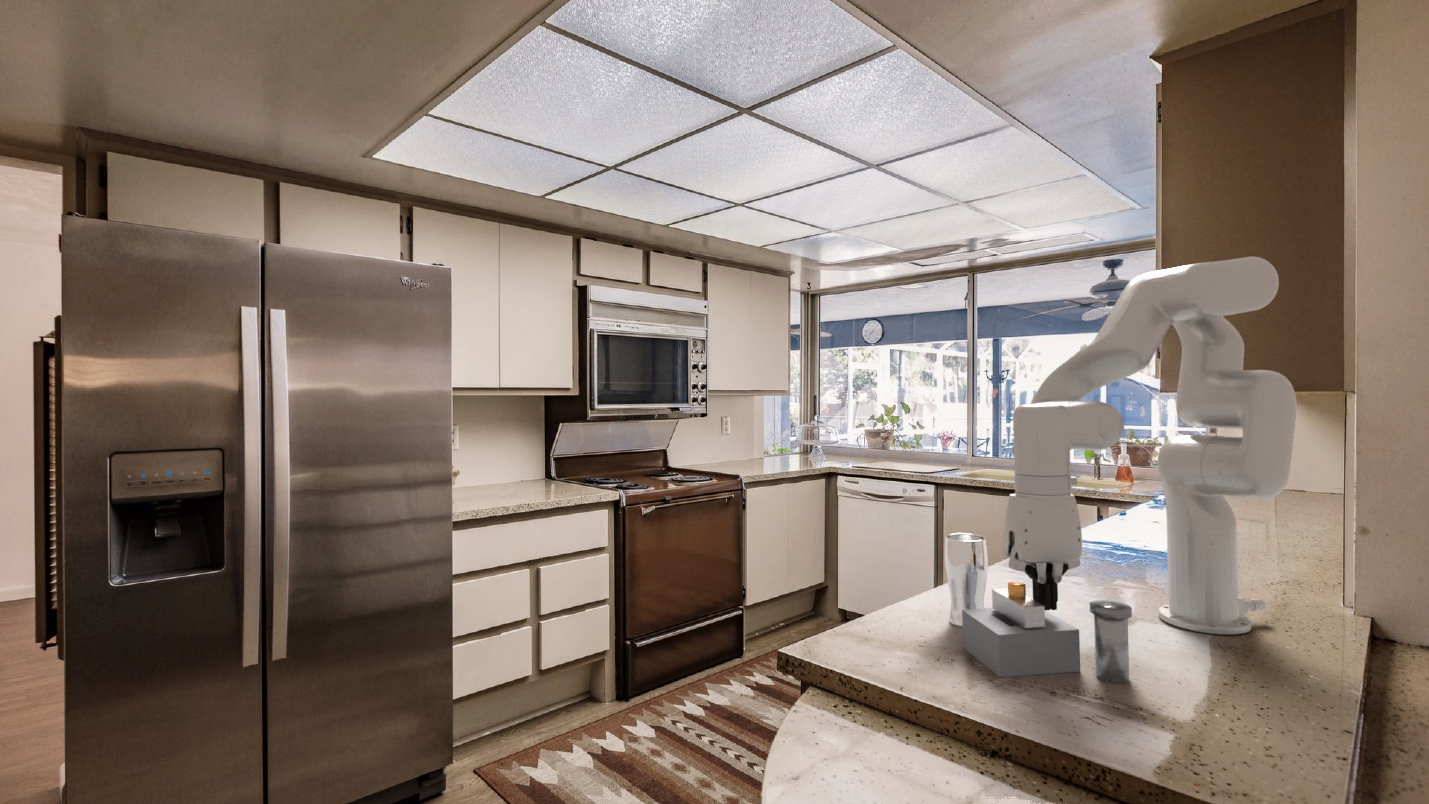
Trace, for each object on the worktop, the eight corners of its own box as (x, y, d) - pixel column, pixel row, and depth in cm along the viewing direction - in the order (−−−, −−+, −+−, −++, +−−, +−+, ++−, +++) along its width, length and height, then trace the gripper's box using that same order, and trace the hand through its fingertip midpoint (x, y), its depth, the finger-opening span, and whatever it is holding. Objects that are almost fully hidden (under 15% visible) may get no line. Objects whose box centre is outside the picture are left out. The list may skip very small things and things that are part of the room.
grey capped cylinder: (1116, 668, 94) (1114, 599, 93) (1142, 684, 89) (1140, 610, 88) (1083, 671, 93) (1081, 601, 93) (1107, 686, 88) (1105, 612, 88)
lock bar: (1010, 607, 103) (1009, 575, 103) (1044, 627, 94) (1043, 592, 94) (992, 608, 102) (991, 576, 102) (1025, 628, 93) (1024, 593, 93)
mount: (1035, 642, 104) (1034, 605, 104) (1080, 671, 93) (1079, 629, 93) (963, 647, 103) (962, 609, 103) (999, 677, 92) (998, 635, 92)
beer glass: (993, 630, 110) (990, 541, 110) (950, 629, 111) (947, 541, 111) (985, 616, 117) (982, 532, 117) (944, 615, 118) (941, 532, 118)
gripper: (1073, 480, 103) (1076, 597, 103) (982, 484, 101) (985, 602, 101) (1106, 487, 95) (1109, 612, 95) (1008, 491, 94) (1011, 618, 94)
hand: (1045, 607), depth 98 cm, fingers closed
